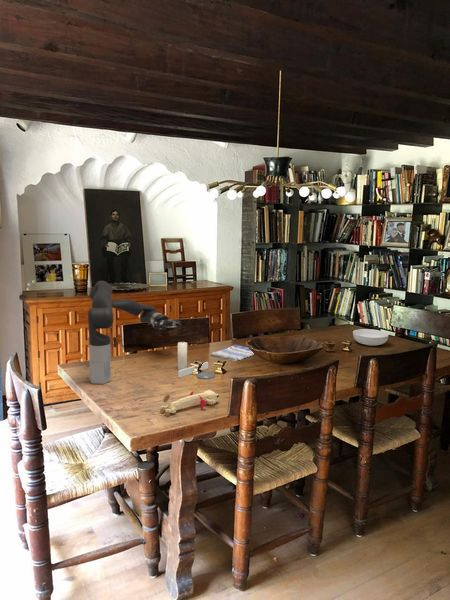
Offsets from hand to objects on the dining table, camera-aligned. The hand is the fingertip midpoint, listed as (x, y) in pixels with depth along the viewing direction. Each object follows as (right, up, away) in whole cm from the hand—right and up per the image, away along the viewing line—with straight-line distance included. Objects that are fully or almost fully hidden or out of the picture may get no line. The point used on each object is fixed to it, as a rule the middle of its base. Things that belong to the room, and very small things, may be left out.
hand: (172, 327), depth 246 cm
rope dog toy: (+13, -29, -54) cm, 62 cm away
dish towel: (+32, -17, +21) cm, 42 cm away
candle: (+5, -20, -7) cm, 22 cm away
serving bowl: (+114, -13, +51) cm, 126 cm away
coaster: (+17, -22, -16) cm, 32 cm away
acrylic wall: (+11, -21, -12) cm, 26 cm away
